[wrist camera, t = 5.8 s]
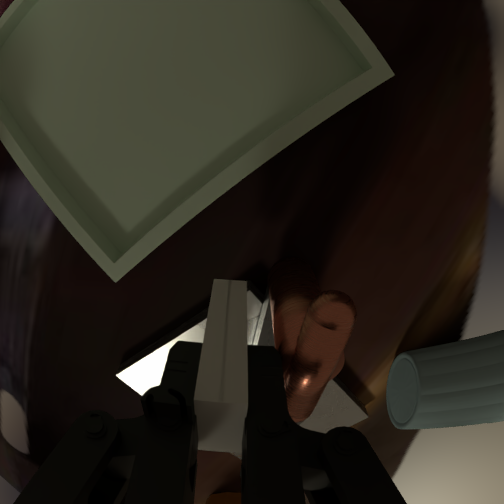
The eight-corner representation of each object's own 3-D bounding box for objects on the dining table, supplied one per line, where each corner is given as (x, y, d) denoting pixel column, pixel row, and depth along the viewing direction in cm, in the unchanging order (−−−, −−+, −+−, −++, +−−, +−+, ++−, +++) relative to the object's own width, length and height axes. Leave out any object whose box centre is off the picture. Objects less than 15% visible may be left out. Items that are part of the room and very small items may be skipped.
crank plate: (252, 455, 26) (252, 466, 25) (120, 364, 21) (115, 376, 19) (365, 406, 23) (369, 418, 22) (249, 279, 18) (249, 291, 17)
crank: (277, 429, 22) (283, 508, 15) (213, 423, 21) (206, 504, 15) (352, 233, 15) (416, 316, 9) (253, 214, 15) (258, 296, 8)
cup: (413, 311, 18) (515, 310, 18) (375, 367, 23) (470, 360, 23) (437, 422, 12) (545, 393, 12) (384, 454, 18) (487, 432, 17)
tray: (128, 264, 17) (115, 282, 15) (-16, 74, 12) (-38, 75, 10) (376, 79, 13) (394, 74, 11) (184, -107, 8) (177, -126, 6)
